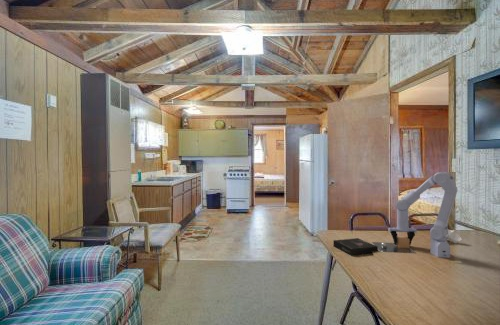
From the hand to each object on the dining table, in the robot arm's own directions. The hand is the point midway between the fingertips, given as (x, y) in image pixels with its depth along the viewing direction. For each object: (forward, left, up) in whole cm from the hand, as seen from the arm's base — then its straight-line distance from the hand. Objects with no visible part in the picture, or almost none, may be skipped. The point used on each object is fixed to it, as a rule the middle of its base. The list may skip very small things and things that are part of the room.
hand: (402, 244), depth 165 cm
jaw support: (+16, -31, -2) cm, 35 cm away
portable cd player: (-7, +27, -3) cm, 28 cm away
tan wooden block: (0, 0, -1) cm, 1 cm away
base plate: (-3, +6, -2) cm, 7 cm away
